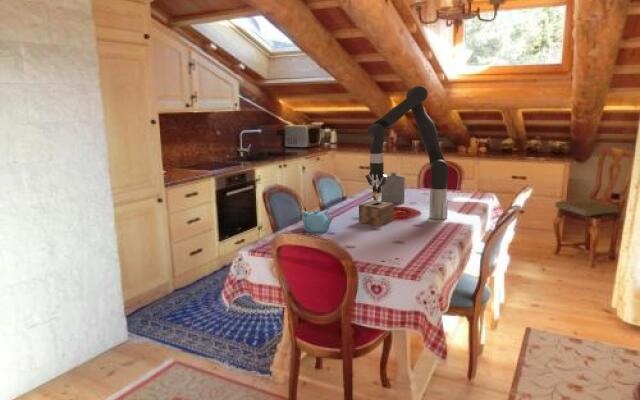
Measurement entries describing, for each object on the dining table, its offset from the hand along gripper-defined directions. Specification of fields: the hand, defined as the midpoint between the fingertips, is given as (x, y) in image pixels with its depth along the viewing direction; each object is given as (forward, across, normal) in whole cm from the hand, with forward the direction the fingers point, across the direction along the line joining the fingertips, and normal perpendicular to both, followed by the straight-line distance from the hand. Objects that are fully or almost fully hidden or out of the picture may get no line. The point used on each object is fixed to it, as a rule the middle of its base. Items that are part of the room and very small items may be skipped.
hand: (376, 192), depth 262 cm
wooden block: (+3, 0, -1) cm, 3 cm away
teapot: (+16, +18, +31) cm, 40 cm away
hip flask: (+17, +18, -51) cm, 56 cm away
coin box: (+17, +1, -1) cm, 17 cm away
